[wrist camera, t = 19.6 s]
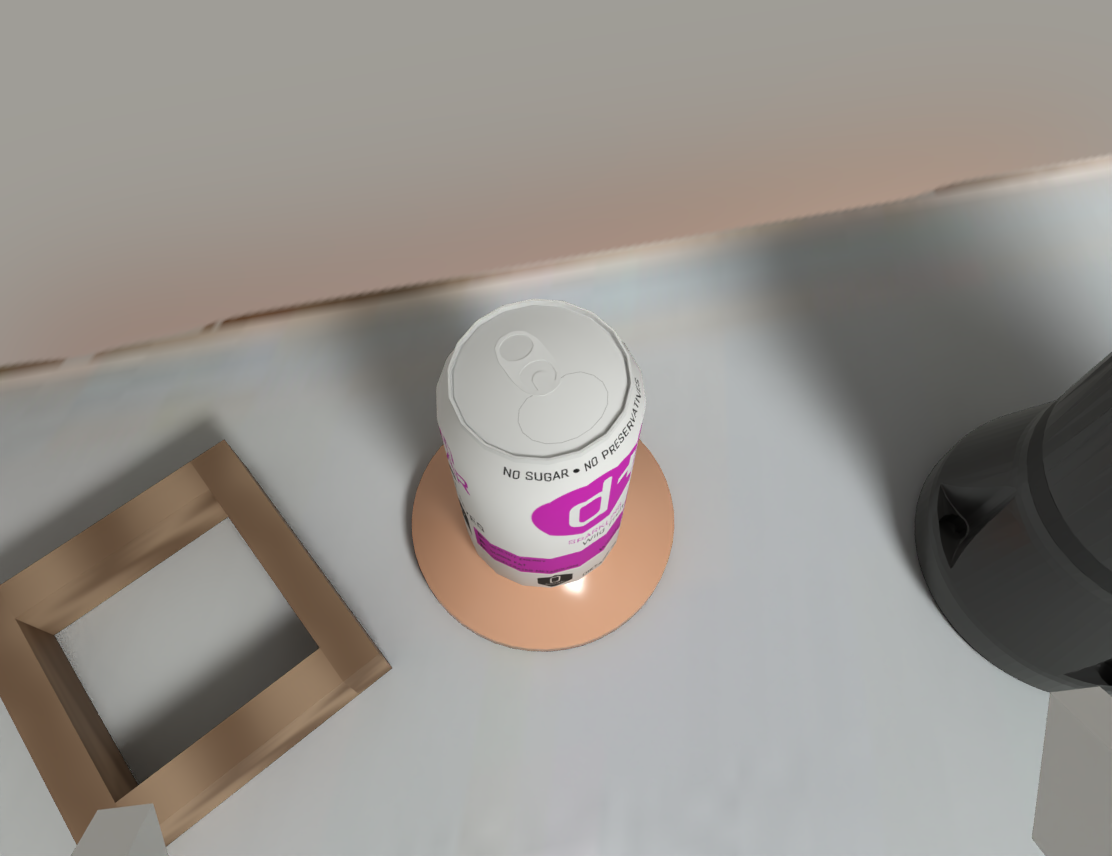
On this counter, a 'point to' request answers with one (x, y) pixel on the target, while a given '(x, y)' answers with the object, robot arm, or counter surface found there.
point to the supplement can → (541, 438)
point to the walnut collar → (113, 563)
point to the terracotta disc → (543, 611)
